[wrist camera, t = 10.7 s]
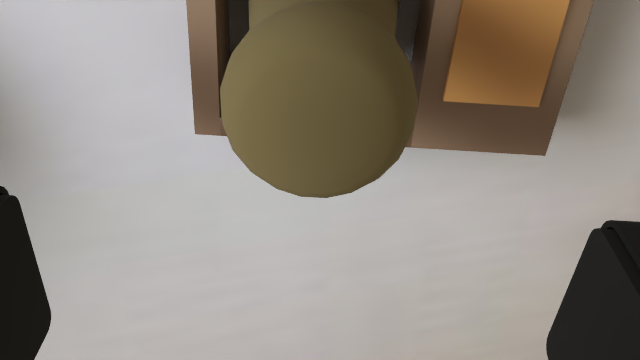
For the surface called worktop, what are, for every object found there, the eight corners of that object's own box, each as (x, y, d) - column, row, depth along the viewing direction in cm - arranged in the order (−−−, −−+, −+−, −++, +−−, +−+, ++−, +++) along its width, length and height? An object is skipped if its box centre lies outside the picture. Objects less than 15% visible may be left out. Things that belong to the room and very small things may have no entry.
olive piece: (420, -64, 22) (479, 44, 13) (378, 82, 26) (402, 250, 16) (259, -101, 22) (204, -15, 13) (238, 54, 25) (182, 211, 16)
